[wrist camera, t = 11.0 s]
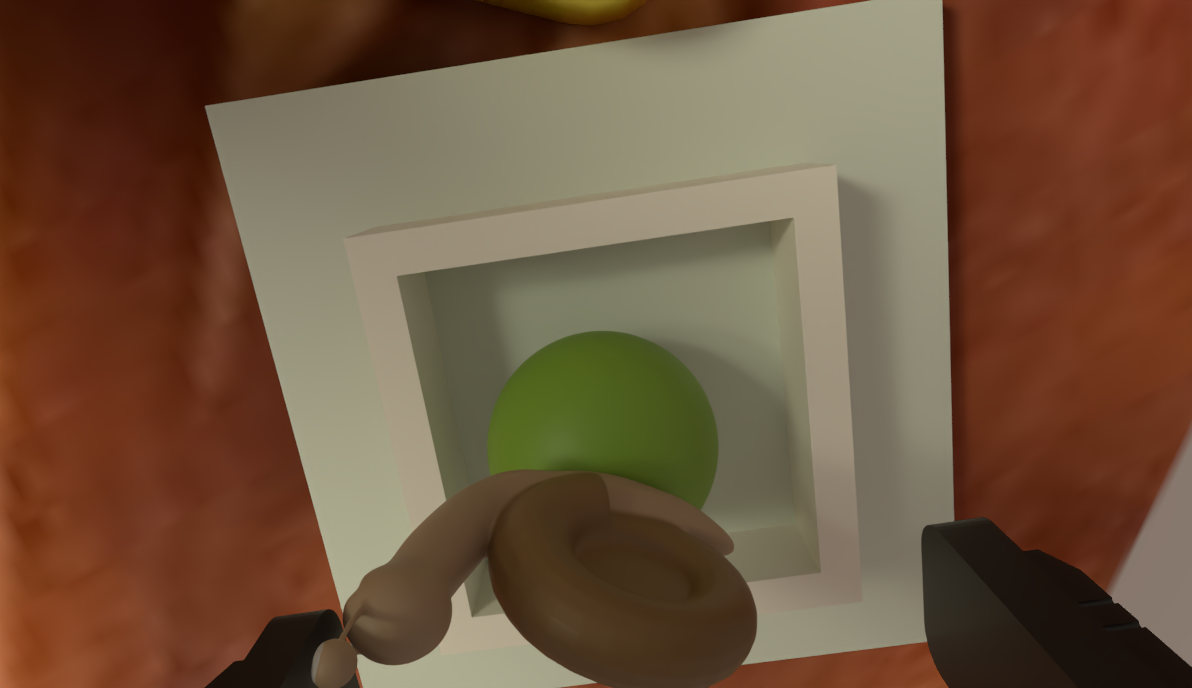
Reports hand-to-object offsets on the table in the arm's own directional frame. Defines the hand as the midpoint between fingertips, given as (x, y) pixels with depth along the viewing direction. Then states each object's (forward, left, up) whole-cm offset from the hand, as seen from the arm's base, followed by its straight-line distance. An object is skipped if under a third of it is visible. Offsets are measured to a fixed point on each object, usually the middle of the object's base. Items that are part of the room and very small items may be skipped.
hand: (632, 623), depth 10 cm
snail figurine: (0, -1, -10) cm, 10 cm away
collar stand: (0, 0, -11) cm, 11 cm away
